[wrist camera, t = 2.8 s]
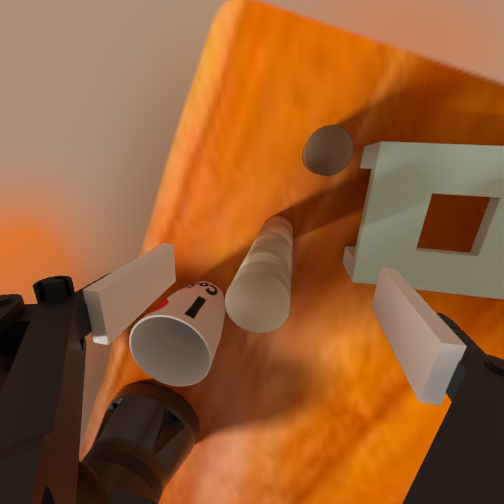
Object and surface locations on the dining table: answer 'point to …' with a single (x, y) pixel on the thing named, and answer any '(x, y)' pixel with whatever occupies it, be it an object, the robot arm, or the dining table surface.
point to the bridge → (414, 212)
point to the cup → (180, 335)
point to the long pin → (264, 280)
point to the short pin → (328, 150)
